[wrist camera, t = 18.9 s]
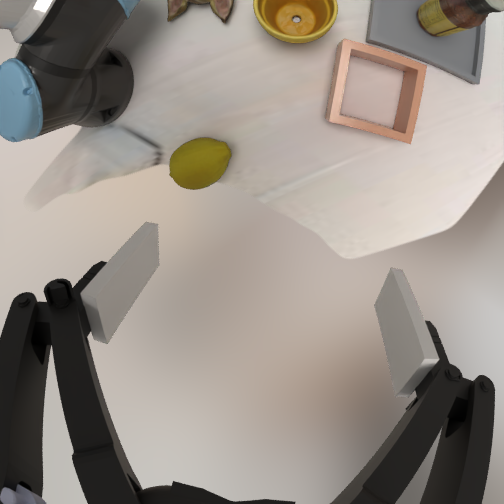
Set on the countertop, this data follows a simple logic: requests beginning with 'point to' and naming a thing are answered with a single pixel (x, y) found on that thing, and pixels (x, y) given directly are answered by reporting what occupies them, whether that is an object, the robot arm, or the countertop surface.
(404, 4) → the grey tray
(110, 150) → the countertop surface
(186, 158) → the lemon
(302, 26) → the plant pot
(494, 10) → the sauce bottle
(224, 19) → the ceramic sculpture
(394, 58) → the terracotta holder
